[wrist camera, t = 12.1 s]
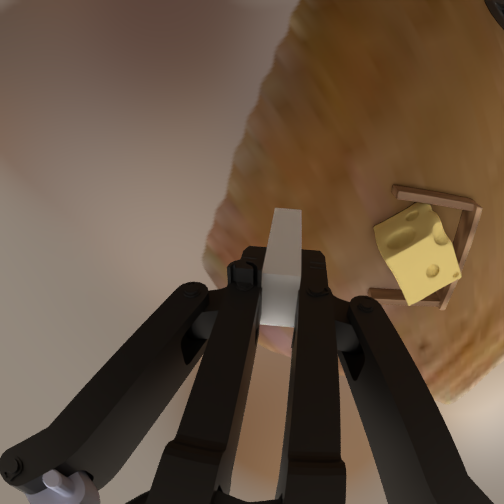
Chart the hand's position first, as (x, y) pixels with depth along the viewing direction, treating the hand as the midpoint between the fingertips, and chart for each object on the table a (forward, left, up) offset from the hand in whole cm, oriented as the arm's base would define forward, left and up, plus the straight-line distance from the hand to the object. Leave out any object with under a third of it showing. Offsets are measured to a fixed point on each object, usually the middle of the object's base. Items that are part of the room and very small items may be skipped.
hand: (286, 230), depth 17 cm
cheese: (+12, +20, -27) cm, 36 cm away
